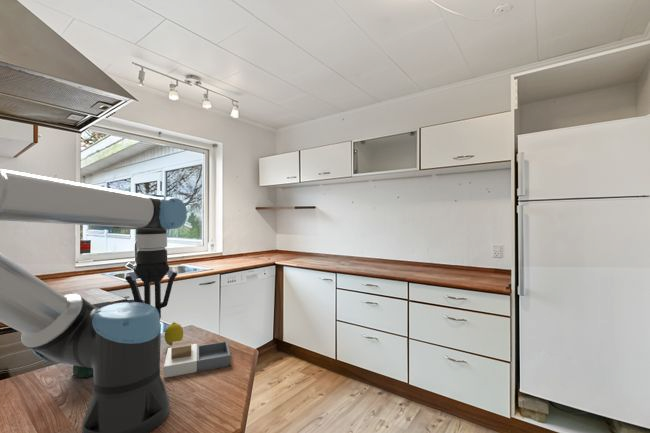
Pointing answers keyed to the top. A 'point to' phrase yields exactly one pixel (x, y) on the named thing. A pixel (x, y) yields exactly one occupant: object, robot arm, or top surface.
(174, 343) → the brown wooden block
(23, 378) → the top surface
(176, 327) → the lemon
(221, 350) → the tray
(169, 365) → the board
